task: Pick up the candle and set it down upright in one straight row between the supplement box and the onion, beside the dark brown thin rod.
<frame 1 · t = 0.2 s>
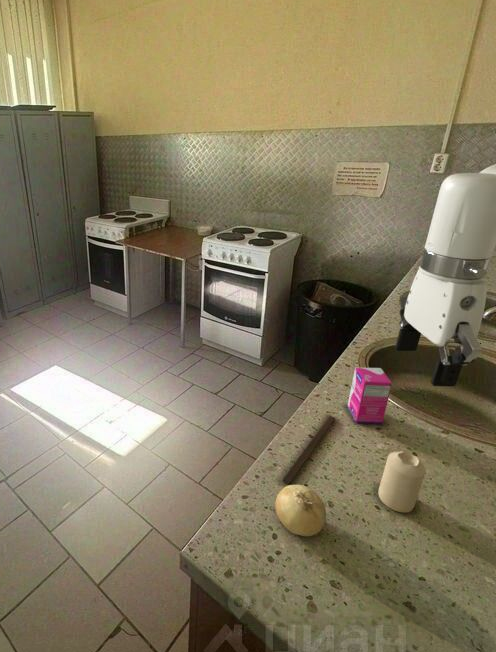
hand: (422, 366, 62), 27 cm above the counter, tool pointing down, fingers open, 9 cm apart
onion: (297, 521, 68), on the counter
dark brown thin rod: (310, 447, 83), on the counter
supplement box: (363, 416, 91), on the counter
candle: (395, 500, 71), on the counter
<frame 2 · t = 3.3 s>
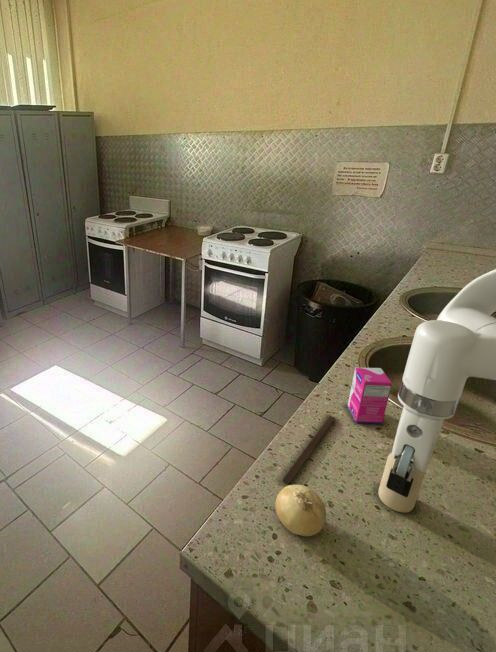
hand: (401, 479, 69), 5 cm above the counter, tool pointing down, fingers closed on candle, 5 cm apart
candle: (395, 500, 71), on the counter, touching gripper
everything else where it was.
when the fingers open (5 cm above the counter, at t = 9.6 s): candle stays where it is, on the counter.
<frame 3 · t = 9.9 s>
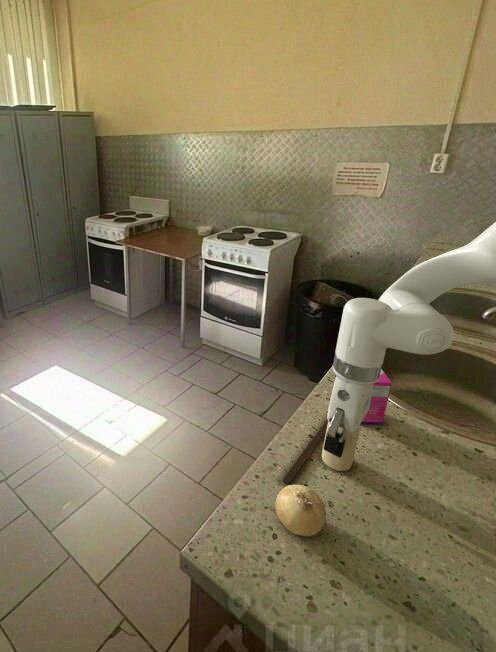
hand: (340, 440, 78), 5 cm above the counter, tool pointing down, fingers open, 7 cm apart
candle: (336, 461, 80), on the counter
everything else where it was.
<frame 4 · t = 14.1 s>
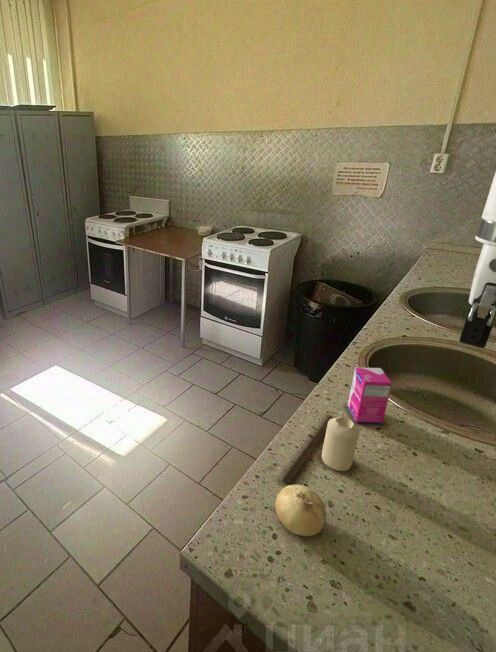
hand: (475, 333, 65), 30 cm above the counter, tool pointing down, fingers open, 9 cm apart
nothing on the counter moved.
at the end: candle 0.1 cm from the target spot on the counter beside the supplement box, on the counter; candle 0.1 cm from the target spot on the counter beside the onion, on the counter; candle tilted 0° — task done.
